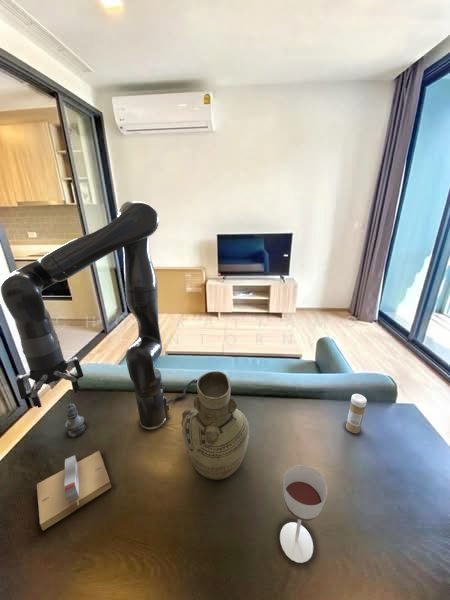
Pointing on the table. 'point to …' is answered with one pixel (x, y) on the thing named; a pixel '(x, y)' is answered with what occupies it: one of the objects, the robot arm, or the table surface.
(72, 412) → the grey stone statuette
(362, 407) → the sprinkles bottle
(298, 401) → the table surface
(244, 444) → the ceramic vessel
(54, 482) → the base
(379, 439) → the table surface
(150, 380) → the robot arm
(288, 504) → the wineglass
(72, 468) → the white rectangular block
